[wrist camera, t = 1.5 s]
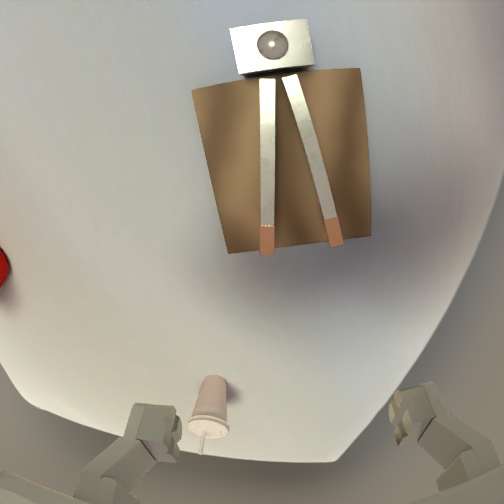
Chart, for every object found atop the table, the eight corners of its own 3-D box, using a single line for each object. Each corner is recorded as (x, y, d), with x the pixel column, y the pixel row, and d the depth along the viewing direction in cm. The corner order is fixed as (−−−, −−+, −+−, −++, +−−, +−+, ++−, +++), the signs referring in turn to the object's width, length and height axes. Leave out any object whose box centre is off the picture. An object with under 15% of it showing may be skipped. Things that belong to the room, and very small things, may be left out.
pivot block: (299, 30, 24) (307, 17, 19) (305, 67, 26) (315, 63, 21) (236, 38, 25) (228, 27, 19) (244, 76, 27) (238, 73, 21)
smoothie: (192, 370, 49) (176, 443, 37) (230, 369, 48) (221, 446, 36) (201, 391, 52) (189, 460, 40) (236, 391, 51) (229, 462, 39)
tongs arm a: (279, 79, 26) (281, 78, 22) (293, 75, 25) (297, 73, 22) (324, 228, 33) (330, 247, 29) (335, 225, 33) (343, 244, 29)
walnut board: (355, 68, 26) (360, 68, 25) (367, 229, 35) (370, 235, 33) (194, 89, 28) (191, 90, 27) (229, 247, 37) (228, 253, 35)
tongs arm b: (260, 79, 26) (259, 78, 22) (274, 79, 26) (275, 79, 22) (261, 234, 34) (260, 254, 30) (273, 235, 34) (273, 255, 30)
